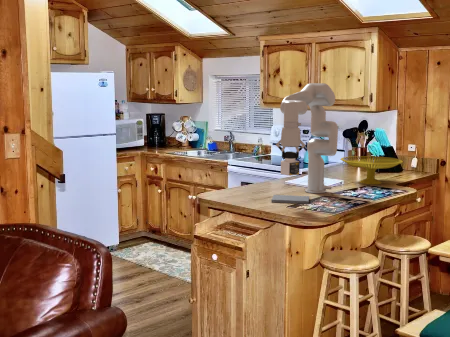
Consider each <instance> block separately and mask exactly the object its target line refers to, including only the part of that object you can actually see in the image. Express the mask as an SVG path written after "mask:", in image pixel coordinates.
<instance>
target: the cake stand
mask: <svg viewBox="0 0 450 337" xmlns="http://www.w3.org/2000/svg"><path fill="white" fill-rule="evenodd" d="M340 160H341V161H342V162H344V163H345V164H347V165H349V166H350V167H353V168H360V169H365V170H366V178H364V179H361V180H359V183H361V184H364V185H381V184H382V181H380V180H378V179H377V178H376V177H375V176H376V170H378V169H383V170H384V169H390V168H394V167H397V166H398V165H400V164H402V163H404V161H403V160H402V159H399V158H395V157H384V156H373V155H371V156H370V155H369V156H367V155H364V156H363V155H362V156H361V155H360V156H359V155H357V156H356V155H355V156H344V157H341V158H340Z"/></svg>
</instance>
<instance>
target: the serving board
mask: <svg viewBox="0 0 450 337" xmlns="http://www.w3.org/2000/svg"><path fill="white" fill-rule="evenodd" d="M270 200H271V202H270V203H277V204H278V203H280V204H282V203H283V204H303V205H308V204H309V202H310V196H309V195H308V196H307V195H288V194H287V195H286V194H285V195H284V194H273V195H272V198H271V199H270Z"/></svg>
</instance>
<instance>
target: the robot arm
mask: <svg viewBox="0 0 450 337" xmlns="http://www.w3.org/2000/svg"><path fill="white" fill-rule="evenodd" d="M335 102H336V95H335V92H334V91H333V90H332V88H331V86H330V85H328V84H327V83H324V82H323V83H321V82H319V83H318V82H312V83H311V82H310V83H307V84H305V86H304V87H303V88H302V89H300V91H297V92H295V93H293V94H292V93H291V94H289V95H286V96H285V97H284V98H283V100H282V101H281V103H280V107H279V108H280V109H279V110H280V112H281V113H282V114H283V127H281V128H282V129H281V134H280V139H279V141H277V142H276V143H275V146H276V147H277V148H278V149H279V150H280V151H281V158H282V159H283V160H285V152H286V151H285V149H286V148H287V147H288V148H295V150H296V151H295V152H296V161H298V159H299V157H300V152H301V151H302V150H303V149H304V148H305V147H306V145H307V147H306V148H307V150H306V151H307V155H308V156H307V157H308V158H307V161H308V163H307V165H308V166H307V188H305V189H304V192H306V193H309V194H324V193H327V190H332V185H325V160H324V158H323V157H324V156H327V157H333V156H335V155H336V154H337V152H338V139H339V137H338V135H339V127H338V124H337V123H336V122H335V121H334V120H333V121H332V120H326V119H327V118H326V117H327V116H326V115H327V113H326V110H325V107H331V106H333V105H334V104H335ZM308 108H309V110H310V114H311V115H310V134H311V136H313V137H317V138H312V139H310V140H308V142H307V144H305V143H304V141H303V140H301V138H302V137H301V126H302V122H299V116H301V115H304V114H306V113H307V112H308ZM318 137H320V138H318ZM322 138H323V139H322ZM324 138H328V139H324ZM322 156H323V157H322Z"/></svg>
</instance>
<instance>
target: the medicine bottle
mask: <svg viewBox="0 0 450 337" xmlns="http://www.w3.org/2000/svg"><path fill="white" fill-rule="evenodd" d="M300 164H301V163H300V161H299V160H296V151H288V150H287V151H285V159H283V160H281V161H280V174H281V175H284V176H289V177H290V176H299V175H300Z"/></svg>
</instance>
